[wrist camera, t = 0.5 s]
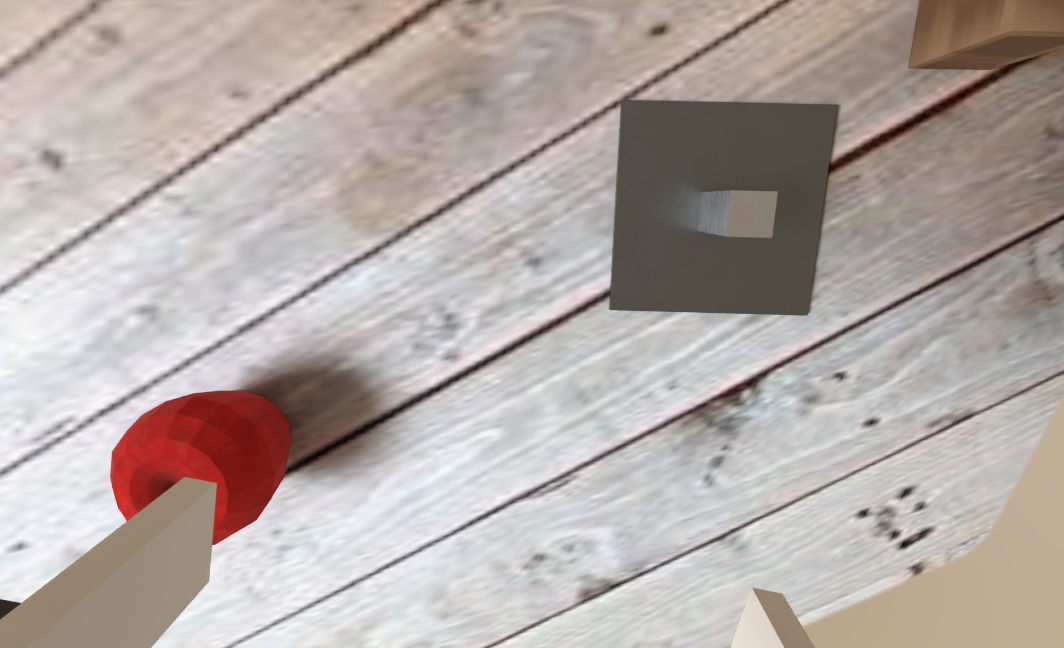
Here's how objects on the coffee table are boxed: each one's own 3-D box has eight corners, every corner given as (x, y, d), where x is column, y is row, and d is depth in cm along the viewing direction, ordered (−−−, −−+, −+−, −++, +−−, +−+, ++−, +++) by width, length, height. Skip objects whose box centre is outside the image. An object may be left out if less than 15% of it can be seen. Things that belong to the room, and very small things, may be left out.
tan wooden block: (923, -22, 33) (1035, -88, 26) (1007, -21, 33) (1145, -86, 26) (908, 68, 35) (1011, 30, 27) (989, 69, 34) (1115, 32, 27)
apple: (274, 506, 43) (185, 607, 32) (169, 437, 41) (40, 518, 31) (342, 415, 41) (271, 490, 30) (233, 340, 40) (120, 391, 29)
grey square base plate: (621, 101, 35) (637, 80, 29) (834, 106, 35) (897, 85, 29) (609, 308, 38) (621, 329, 32) (804, 314, 38) (855, 336, 32)
